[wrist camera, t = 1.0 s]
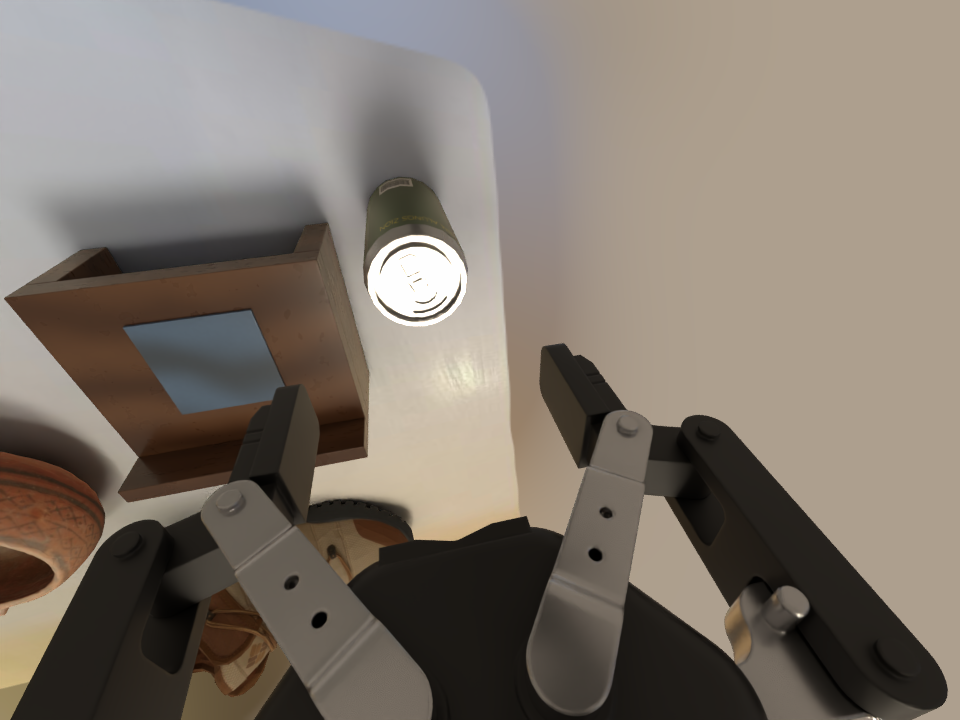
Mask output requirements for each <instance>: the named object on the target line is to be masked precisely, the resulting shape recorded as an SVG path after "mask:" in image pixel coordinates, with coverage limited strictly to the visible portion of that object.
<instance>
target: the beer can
mask: <svg viewBox="0 0 960 720" xmlns="http://www.w3.org/2000/svg"><path fill="white" fill-rule="evenodd" d="M363 270H364V283H365V286H366V288H367V290H368V292H369V295H370V297H371V298H372V300H373V302H374V304H375V305H376V307H377V308H378V309H379V310H380V311H381V312H382V313H383V314H384V315H385V316H387V317H388V318H390V319H392V320H393V321H395V322H397V323H401V324H405V325H408V326H426V325H430V324H433V323H436V322H439V321H441V320H442V319H444V318H446V317H447V316H449V315H450V314H452V312H453V311H454V310H455V309H456V308H457V307H458V306H459V304H460V303H461V300H462V298H463V296H464V294H465V291H466V282H467V271H468V268H467V264H466V260H465V256H464V253H463V251H462V249H461V246H460V244H459V242H458V240H457V238H456V236H455V234H454V231H453V229H452V227H451V225H450V223H449V221H448V219H447V216H446V214H445V212H444V210H443V208H442V206H441V203H440V201H439V200H438V198H437V197H436V195H435V193H434V192H433V190H431V189H430V188H429V187H428V186H427V185H426V184H424V183H423V182H421V181H418V180H416V179H413V178H407V177H397V178H394V179H390V180H387V181H385V182H384V183H383V184H381V185H380V186H378V187H377V188H376V190H375V191H374V193H373V194H372V196H371V197H370V200H369V203H368V207H367V216H366V232H365V248H364V264H363Z"/></svg>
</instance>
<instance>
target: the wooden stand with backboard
mask: <svg viewBox="0 0 960 720" xmlns="http://www.w3.org/2000/svg"><path fill="white" fill-rule="evenodd" d="M4 299H5V300H6V302H7V303H8V304H9V305H10V306H11V307H12V309H13V310H14V311H15V312H16V313H17V315H18V316H19V317H20V318H21V319H22V320H23V322H24V323H25V324H26V325H27V326H28V327H29V329H30V330H31V331H32V332H33V333H34V335H35V336H36V337H37V338H38V339H39V340H40V342H41V343H42V344H43V345H44V346H45V347H46V349H47V350H48V351H49V352H50V353H51V355H52V356H53V357H54V358H55V359H56V360H57V362H58V363H59V364H60V365H61V366H62V367H63V369H64V370H65V371H66V372H67V373H68V375H69V376H70V377H71V378H72V379H73V380H74V382H75V383H76V384H77V385H78V386H79V387H80V389H81V390H82V391H83V392H84V393H85V395H86V396H87V397H88V398H89V399H90V400H91V402H92V403H93V404H94V405H95V406H96V407H97V409H98V410H99V411H100V412H101V413H102V415H103V416H104V417H105V418H106V419H107V420H108V422H109V423H110V424H111V425H112V426H113V427H114V429H115V430H116V431H117V432H118V433H119V435H120V436H121V437H122V438H123V439H124V440H125V442H126V443H127V444H128V445H129V446H130V447H131V449H132V450H133V451H134V452H135V453H136V455H137V456H138V457H139V458H138V459H137V461H136V463H135V464H134V466H133V468H132V469H131V471H130V473H129V474H128V476H127V478H126V479H125V481H124V483H123V484H122V486H121V488H120V489H119V491H118V493H119V494H120V495H121V496H122V497H123V498H124V499H125V500H126V501H127V502H134V501H139V500H144V499H149V498H155V497H160V496H165V495H170V494H176V493H181V492H186V491H192V490H197V489H202V488H207V487H213V486H218V485H223V484H228V481H229V478H230V476H231V473H232V470H233V467H234V464H235V462H236V459H237V456H238V453H239V450H240V448H241V445H243V443H242V442H243V439H244V436H245V434H247V433H246V431H247V428H248V425H249V422H250V420H251V418H252V417H253V416H254V414H255V413H256V412H257V411H258V410H259V409H260V408H261V406H265V405H271V403H272V400H273V397H274V394H275V391H276V389H277V388H278V387H284V386H291V385H297V384H303V385H304V386H305V388H306V391H307V393H308V396H309V398H310V401H311V403H312V406H313V408H314V411H315V413H316V416H317V418H318V422H319V430H320V435H319V442H318V449H317V455H316V462H315V467H318V466H323V465H328V464H334V463H339V462H344V461H350V460H355V459H360V458H365V457H367V456H368V409H369V371H368V368H367V364H366V360H365V357H364V353H363V349H362V346H361V342H360V338H359V335H358V331H357V327H356V324H355V320H354V316H353V313H352V309H351V305H350V302H349V298H348V295H347V291H346V287H345V284H344V280H343V276H342V273H341V269H340V265H339V262H338V258H337V254H336V251H335V247H334V243H333V240H332V236H331V232H330V229H329V225H328V223H321V224H312V225H306V226H305V227H304V230H303V232H302V234H301V236H300V239H299V241H298V243H297V246H296V248H295V250H294V252H293V253H291V254H283V255H275V256H266V257H258V258H250V259H241V260H233V261H225V262H216V263H208V264H199V265H191V266H183V267H174V268H166V269H158V270H149V271H141V272H132V273H124V274H123V273H122V272H121V270H120V269H119V267H118V265H117V264H116V262H115V261H114V259H113V257H112V256H111V254H110V253H109V251H108V249H107V248H106V247H104V248H95V249H86V250H80V251H78V252H77V253H75V254H73V255H72V256H70V257H69V258H67V259H66V260H64V261H62V262H61V263H59V264H58V265H56V266H54V267H53V268H51V269H50V270H48V271H46V272H45V273H43V274H42V275H40V276H39V277H37V278H35V279H34V280H32V281H31V282H29V283H27V284H26V285H24V286H23V287H21V288H19V289H18V290H16V291H15V292H13V293H11V294H10V295H8V296H7V297H5V298H4Z"/></svg>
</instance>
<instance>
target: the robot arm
mask: <svg viewBox="0 0 960 720" xmlns="http://www.w3.org/2000/svg"><path fill="white" fill-rule="evenodd" d="M540 389H541V394H542V397H543V399H544V401H545V403H546V405H547V407H548V409H549V411H550V413H551V414H552V417H553V419H554V421H555V423H556V425H557V427H558V429H559V431H560V433H561V435H562V437H563V439H564V441H565V443H566V445H567V447H568V449H569V451H570V453H571V455H572V457H573V459H574V461H575V463H576V465H577V467H578V468H584V467H587V468H586V470H585V473H584V477H583V479H582V483H581V486H580V489H579V492H578V495H577V498H576V501H575V504H574V507H573V510H572V513H571V516H570V519H569V523H568V526H567V529H566V532H565V535H564V536H563V535H561V534H559V533H556V532H554V531H550V530H547V529H543V528H537V527H530V525H529V522H528V519H527V516H524V517H520V518H515V519H511V520H506V521H501V522H497V523H492V524H490V525H488V526H486V527H484V528H482V529H480V530H478V531H476V532H474V533H472V534H470V535H468V536H466V537H464V538H462V539H459V540H456V541H436V540H414V541H409V542H404V543H400V544H395V545H391V546H386V547H381V548H379V561H377V562H375V563H373V564H371V565H370V566H368V567H367V568H365V569H364V570H362V571H361V572H360V573H359V574H357V575H356V576H355V577H354V578H353V579H352V580H351V581H350V582H349V583H348V584H347V585H346V583H345V582H344V581H343V580H342V579H341V577H340V576H339V575H338V574H337V573H336V572H335V570H334V569H333V568H332V567H331V566H330V565H329V563H328V562H327V561H326V560H325V559H324V558H323V556H322V555H321V554H320V553H319V552H318V551H317V549H316V548H315V547H314V546H313V545H312V544H311V542H310V541H309V540H308V539H307V538H306V536H305V535H304V534H303V533H302V532H301V531H300V530H299V528H298V527H297V526H296V525H298V524H303V523H306V520H307V513H308V507H309V500H310V494H311V487H312V481H313V475H314V468H315V462H316V455H317V449H318V442H319V435H320V430H319V422H318V418H317V416H316V413H315V411H314V408H313V406H312V403H311V401H310V398H309V396H308V393H307V391H306V388H305V386H304V385H303V384H297V385H291V386H284V387H278V388H277V389H276V391H275V394H274V397H273V400H272V403H271V405H265V406H261V408H260V409H259V410H258V411H257V412H256V413H255V414H254V416H253V417H252V418H251V420H250V422H249V425H248V428H247V431H246V433H247V434H245V436H244V439H243V442H242V443H243V445H241V448H240V450H239V453H238V456H237V459H236V462H235V464H234V467H233V470H232V473H231V476H230V478H229V481H228V484H227V485H225V486H223V487H221V488H219V489H218V490H217V491H215V492H214V493H213V494H212V495H211V496H210V497H209V498H208V499H207V501H206V502H205V504H204V505H203V507H202V510H201V512H199V513H197V514H195V515H193V516H190V517H188V518H186V519H183V520H181V521H179V522H177V523H174V524H172V525H170V526H167V527H165V528H164V527H163V526H162V525H161V524H160V523H159V522H158V521H155V520H141V521H138V522H134V523H132V524H129V525H127V526H125V527H123V528H122V529H120V530H119V531H117V532H116V533H114V534H113V535H112V536H110V537H109V538H108V539H107V540H106V541H105V542H104V543H103V544H102V545H101V547H100V548H99V549H98V551H97V552H96V554H95V556H94V558H93V560H92V562H91V564H90V566H89V567H88V569H87V571H86V573H85V575H84V577H83V579H82V581H81V583H80V585H79V587H78V589H77V591H76V593H75V595H74V597H73V599H72V601H71V603H70V604H69V606H68V608H67V610H66V612H65V614H64V616H63V618H62V620H61V622H60V624H59V626H58V628H57V630H56V632H55V634H54V636H53V638H52V640H51V642H50V643H49V645H48V647H47V649H46V651H45V653H44V655H43V657H42V659H41V661H40V663H39V665H38V667H37V669H36V671H35V673H34V675H33V677H32V679H31V680H30V682H29V684H28V686H27V688H26V690H25V692H24V694H23V696H22V698H21V700H20V702H19V704H18V706H17V708H16V710H15V712H14V714H13V716H12V718H11V720H181V716H182V712H183V708H184V704H185V700H186V696H187V692H188V688H189V684H190V680H191V676H192V672H193V668H194V664H195V660H196V656H197V653H198V649H199V645H200V641H201V637H202V633H203V629H204V625H205V621H206V617H207V613H208V609H209V605H210V601H211V597H212V595H214V594H216V593H217V592H219V591H221V590H223V589H225V588H227V587H229V586H231V585H233V584H235V583H237V582H239V583H240V585H241V586H242V588H243V590H244V591H245V593H246V594H247V596H248V597H249V599H250V601H251V602H252V604H253V605H254V607H255V608H256V610H257V612H258V613H259V615H260V616H261V618H262V619H263V621H264V623H265V624H266V626H267V627H268V629H269V630H270V632H271V633H272V635H273V637H274V638H275V640H276V641H277V643H278V644H279V646H280V648H281V649H282V651H283V652H284V654H285V655H286V657H287V659H288V660H289V662H290V663H291V666H290V667H289V669H288V670H287V672H286V673H285V675H284V676H283V678H282V679H281V681H280V682H279V683H278V685H277V686H276V688H275V689H274V691H273V692H272V694H271V695H270V697H269V698H268V700H267V701H266V703H265V704H264V705H263V707H262V708H261V710H260V711H259V713H258V714H257V716H256V717H255V719H254V720H912V719H914V718H917V717H919V716H921V715H923V714H925V713H928V712H930V711H932V710H934V709H937V708H938V707H940V706H942V705H943V704H944V702H945V701H946V698H947V691H948V689H947V684H946V680H945V678H944V675H943V673H942V671H941V669H940V667H939V666H938V664H937V663H936V661H935V660H934V658H933V657H932V656H931V655H930V653H929V652H928V651H927V650H926V649H925V648H924V647H923V645H922V644H921V643H920V642H919V641H918V640H917V639H916V638H915V636H914V635H913V634H912V633H911V632H910V631H909V630H908V628H907V627H906V626H905V625H904V624H903V623H902V622H901V621H900V619H899V618H898V617H897V616H896V615H895V614H894V613H893V612H892V611H891V609H890V608H889V607H888V606H887V605H886V604H885V603H884V601H883V600H882V599H881V598H880V597H879V596H878V595H877V594H876V592H875V591H874V590H873V589H872V588H871V587H870V586H869V584H868V583H867V582H866V581H865V580H864V579H863V578H862V577H861V576H860V574H859V573H858V572H857V571H856V570H855V569H854V567H853V566H852V565H851V564H850V563H849V562H848V561H847V560H846V558H845V557H844V556H843V555H842V554H841V553H840V552H839V551H838V550H837V548H836V547H835V546H834V545H833V544H832V543H831V542H830V540H829V539H828V538H827V537H826V536H825V535H824V534H823V533H822V531H821V530H820V529H819V528H818V527H817V526H816V525H815V524H814V522H813V521H812V520H811V519H810V518H809V517H808V516H807V515H806V513H805V512H804V511H803V510H802V509H801V508H800V507H799V505H798V504H797V503H796V502H795V501H794V500H793V499H792V498H791V496H790V495H789V494H788V493H787V492H786V491H785V490H784V488H783V487H782V486H781V485H780V484H779V483H778V482H777V481H776V479H775V478H774V477H773V476H772V475H771V474H770V473H769V472H768V470H766V468H765V467H764V466H763V465H762V464H761V462H760V461H759V460H758V459H757V458H756V457H755V456H754V455H753V454H752V452H751V451H750V450H749V449H748V448H747V447H746V446H745V445H744V443H743V442H742V441H741V440H740V439H739V438H738V437H737V436H736V434H735V433H734V432H733V431H732V430H731V429H730V428H729V427H728V426H727V425H726V424H725V423H723V422H721V421H720V420H718V419H715V418H712V417H709V416H704V415H694V416H690V417H687V418H686V419H685V420H684V421H683V422H682V425H681V428H680V427H665V426H655V425H651V424H650V422H649V421H648V420H647V419H646V418H645V417H643V416H642V415H640V414H638V413H636V412H633V411H628V410H627V409H626V408H625V407H624V405H623V404H622V403H621V401H620V400H619V398H618V397H617V396H616V394H615V393H614V392H613V390H612V389H611V388H610V386H609V385H608V383H606V382H605V379H604V378H603V376H602V375H601V374H600V373H599V371H598V370H597V368H596V367H595V365H594V364H593V363H592V362H591V361H589V360H588V359H586V358H585V357H583V356H581V355H577V356H573V355H572V353H571V352H570V350H569V349H568V348H567V346H566V345H565V344H563V343H562V344H555V345H549V346H544V347H542V350H541V364H540ZM644 494H645V495H655V496H664V497H665V499H666V500H667V502H668V504H669V505H670V507H671V509H672V511H673V512H674V514H675V516H676V517H677V519H678V521H679V522H680V524H681V526H682V527H683V529H684V531H685V532H686V534H687V536H688V538H689V539H690V541H691V543H692V544H693V546H694V548H695V549H696V551H697V553H698V554H699V556H700V558H701V559H702V561H703V563H704V564H705V566H706V568H707V570H708V571H709V573H710V575H711V576H712V578H713V580H714V581H715V583H716V585H717V586H718V588H719V590H720V591H721V593H722V595H723V597H724V598H725V600H726V602H727V603H728V605H729V607H730V608H729V610H728V611H727V613H726V616H725V629H726V633H727V636H728V638H729V641H730V643H731V645H732V649H733V652H734V661H733V660H732V659H731V658H730V657H729V656H728V655H727V654H726V653H725V652H724V651H723V650H722V649H720V648H719V647H718V646H717V645H716V644H714V643H713V642H711V641H710V640H709V639H707V638H706V637H705V636H703V635H702V634H700V633H699V632H698V631H696V630H695V629H693V628H692V627H691V626H689V625H688V624H686V623H685V622H684V621H682V620H681V619H680V618H678V617H677V616H675V615H674V614H673V613H671V612H670V611H669V610H667V609H666V608H665V607H663V606H662V605H660V604H659V603H658V602H656V601H655V600H653V599H652V598H651V597H649V596H648V595H646V594H645V593H644V592H642V591H641V590H640V589H638V588H637V587H636V586H634V585H633V584H631V583H630V582H629V575H630V570H631V564H632V559H633V552H634V547H635V542H636V536H637V531H638V525H639V519H640V514H641V508H642V502H643V497H644Z"/></svg>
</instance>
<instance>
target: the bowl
mask: <svg viewBox="0 0 960 720" xmlns="http://www.w3.org/2000/svg"><path fill="white" fill-rule="evenodd" d="M104 524H105V512H104V510H103V507H102V505H101V503H100V501H99V499H98V497H97V494H96V492H95V491H93V490H92V489H91V488H90V486H89V485H88V484H87V483H85V482H84V481H82V480H80V479H78V478H77V477H76V476H75V475H73V474H72V473H70V472H68V471H66V470H65V469H63V468H60V467H58V466H55V465H52V464H49V463H46V462H43V461H40V460H36V459H32V458H27V457H22V456H18V455H14V454H10V453H6V452H0V616H2V615H5V614H6V612H7V610H8V609H9V607H11V606H14V605H18V604H21V603H25V602H29V601H32V600H35V599H37V598H39V597H42V596H44V595H46V594H48V593H49V592H51V591H52V590H54V589H55V588H57V587H59V586H60V585H61V584H62V583H63V582H65V581H66V580H67V579H68V578H69V577H70V576H71V575H72V574H73V573H74V572H75V571H76V570H77V569H78V568H79V567H80V566H81V565H82V564H83V562H84V561H85V560H86V559H87V558H88V556H89V555H90V554H91V553H92V551H93V550H94V548H95V547H96V545H97V543H98V541H99V540H100V538H101V536H102V532H103V528H104Z"/></svg>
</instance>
